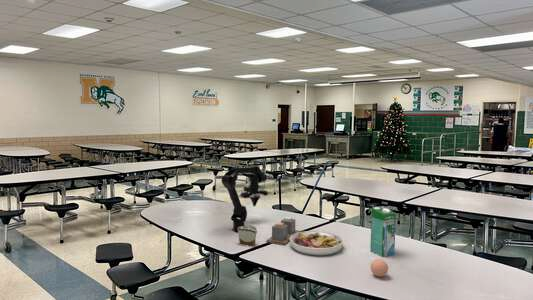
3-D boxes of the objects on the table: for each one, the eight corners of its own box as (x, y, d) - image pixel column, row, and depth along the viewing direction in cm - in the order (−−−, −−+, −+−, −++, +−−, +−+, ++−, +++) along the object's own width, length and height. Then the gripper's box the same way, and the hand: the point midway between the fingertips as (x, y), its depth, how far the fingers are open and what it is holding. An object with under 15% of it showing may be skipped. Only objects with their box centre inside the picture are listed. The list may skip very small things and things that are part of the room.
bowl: (312, 235, 231) (312, 223, 230) (353, 248, 209) (353, 234, 209) (279, 247, 210) (279, 233, 209) (320, 262, 189) (321, 247, 188)
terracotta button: (281, 230, 217) (281, 224, 216) (275, 229, 218) (275, 223, 218) (283, 228, 220) (283, 223, 220) (278, 227, 222) (278, 222, 222)
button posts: (282, 241, 215) (282, 228, 214) (271, 239, 218) (271, 226, 217) (295, 231, 234) (295, 219, 233) (285, 230, 237) (285, 217, 236)
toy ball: (384, 272, 176) (385, 256, 175) (390, 279, 168) (391, 263, 167) (368, 272, 176) (368, 256, 175) (373, 279, 168) (373, 263, 167)
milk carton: (382, 257, 195) (383, 211, 193) (370, 251, 203) (371, 207, 201) (394, 254, 199) (396, 209, 197) (382, 248, 207) (383, 205, 205)
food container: (260, 243, 215) (260, 227, 214) (256, 247, 209) (256, 230, 208) (242, 240, 220) (242, 224, 219) (237, 244, 214) (237, 227, 213)
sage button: (289, 224, 229) (290, 218, 229) (284, 223, 231) (284, 218, 230) (292, 222, 233) (292, 217, 232) (286, 221, 234) (286, 216, 234)
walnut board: (284, 245, 212) (284, 243, 212) (266, 242, 217) (266, 240, 217) (300, 232, 235) (300, 230, 235) (283, 230, 240) (283, 228, 240)
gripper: (259, 180, 261) (259, 202, 263) (236, 183, 251) (236, 205, 253) (268, 183, 252) (268, 205, 253) (244, 185, 242) (244, 209, 243)
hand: (254, 206), depth 251 cm, fingers closed
